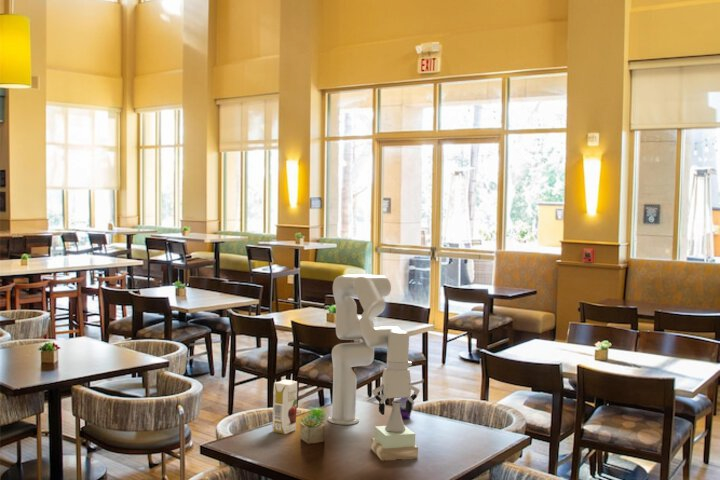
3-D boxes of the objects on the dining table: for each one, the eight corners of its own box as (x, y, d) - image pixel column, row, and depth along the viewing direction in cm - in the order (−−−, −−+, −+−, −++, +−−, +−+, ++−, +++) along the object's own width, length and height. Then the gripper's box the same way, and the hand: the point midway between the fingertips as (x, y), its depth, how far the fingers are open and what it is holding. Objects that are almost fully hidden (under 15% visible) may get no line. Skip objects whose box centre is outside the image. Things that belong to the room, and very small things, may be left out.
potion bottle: (403, 413, 312) (404, 385, 312) (418, 418, 306) (419, 389, 305) (388, 416, 307) (389, 388, 306) (402, 421, 300) (403, 392, 300)
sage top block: (374, 438, 263) (375, 426, 263) (403, 437, 266) (403, 424, 266) (385, 448, 252) (385, 435, 252) (414, 446, 256) (415, 433, 256)
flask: (405, 433, 256) (407, 405, 255) (385, 432, 256) (386, 404, 256) (404, 427, 263) (406, 399, 263) (384, 426, 263) (385, 398, 263)
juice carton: (269, 432, 280) (271, 382, 279) (282, 426, 287) (283, 378, 287) (286, 435, 276) (287, 385, 275) (298, 429, 284) (300, 381, 283)
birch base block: (371, 450, 264) (371, 437, 264) (405, 448, 268) (405, 435, 268) (381, 462, 252) (382, 449, 252) (417, 460, 255) (418, 447, 255)
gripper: (416, 362, 265) (414, 409, 266) (370, 363, 260) (368, 411, 261) (424, 367, 257) (421, 415, 258) (376, 368, 253) (374, 417, 254)
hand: (395, 413), depth 260 cm, fingers open, 9 cm apart
